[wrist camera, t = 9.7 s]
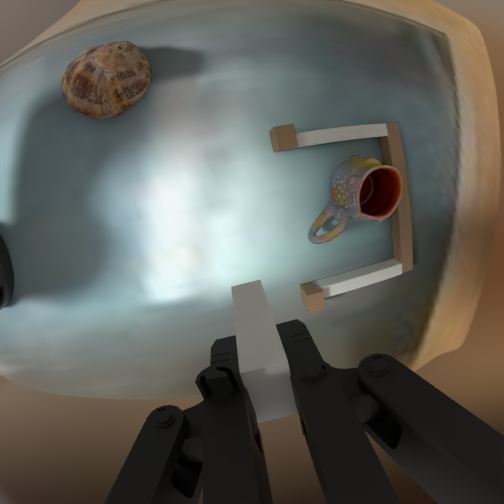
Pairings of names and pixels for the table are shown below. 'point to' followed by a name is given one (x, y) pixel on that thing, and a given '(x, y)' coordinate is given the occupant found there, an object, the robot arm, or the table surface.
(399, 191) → the mug
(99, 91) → the seashell
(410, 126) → the table surface
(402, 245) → the pocket
